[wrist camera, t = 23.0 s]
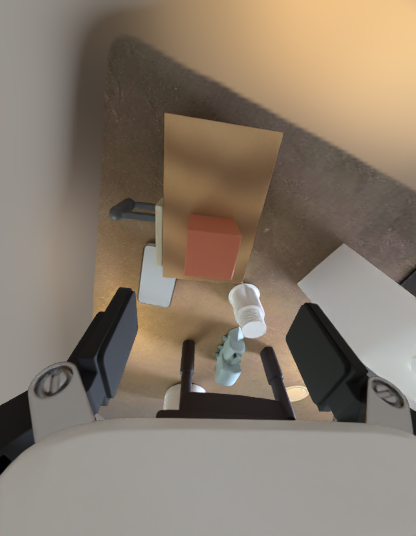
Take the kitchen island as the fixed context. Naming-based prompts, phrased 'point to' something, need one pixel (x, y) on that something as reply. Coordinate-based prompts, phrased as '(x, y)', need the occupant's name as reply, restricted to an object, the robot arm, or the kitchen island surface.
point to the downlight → (248, 310)
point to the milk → (368, 314)
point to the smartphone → (154, 281)
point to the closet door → (143, 219)
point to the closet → (213, 183)
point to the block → (211, 247)
